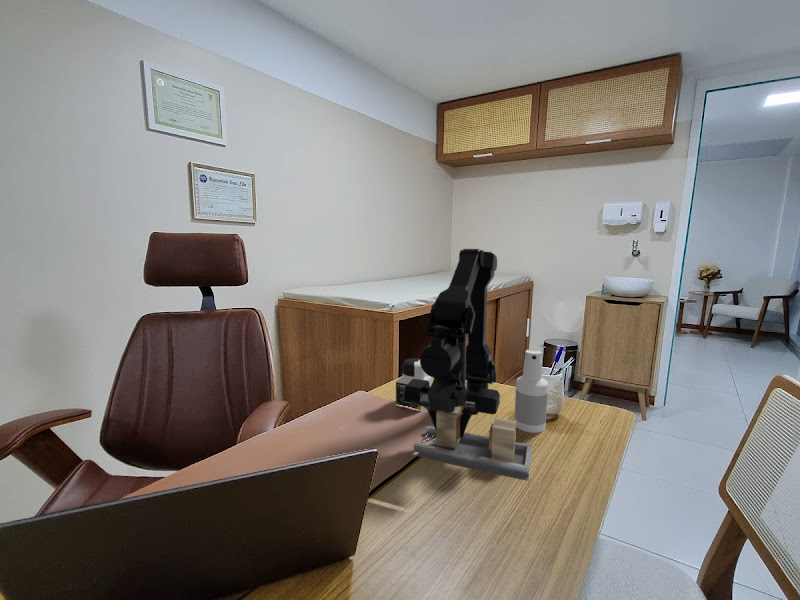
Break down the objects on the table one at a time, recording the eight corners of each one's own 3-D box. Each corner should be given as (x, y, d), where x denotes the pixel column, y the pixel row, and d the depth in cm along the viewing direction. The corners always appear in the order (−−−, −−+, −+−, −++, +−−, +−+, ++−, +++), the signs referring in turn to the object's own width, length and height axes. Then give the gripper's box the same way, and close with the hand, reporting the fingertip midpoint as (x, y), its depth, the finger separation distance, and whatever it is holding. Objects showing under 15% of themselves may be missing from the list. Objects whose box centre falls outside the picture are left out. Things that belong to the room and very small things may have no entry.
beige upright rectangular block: (491, 450, 77) (492, 417, 76) (514, 454, 75) (516, 421, 74) (488, 460, 73) (489, 426, 72) (512, 465, 72) (514, 430, 71)
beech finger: (436, 444, 77) (436, 412, 76) (441, 435, 81) (442, 404, 80) (458, 449, 75) (459, 415, 74) (463, 439, 79) (463, 407, 78)
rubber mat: (428, 431, 86) (428, 429, 86) (531, 451, 77) (531, 449, 77) (411, 457, 76) (411, 454, 75) (528, 482, 67) (528, 480, 67)
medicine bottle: (395, 406, 99) (395, 362, 97) (407, 397, 105) (407, 354, 103) (420, 412, 95) (420, 366, 93) (431, 402, 101) (432, 358, 100)
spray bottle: (515, 432, 85) (518, 355, 82) (513, 419, 92) (516, 346, 89) (547, 436, 83) (552, 357, 81) (543, 422, 90) (547, 348, 87)
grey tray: (426, 432, 84) (426, 425, 84) (531, 451, 76) (531, 445, 76) (413, 451, 77) (413, 444, 76) (528, 476, 68) (529, 468, 68)
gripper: (391, 368, 71) (392, 445, 74) (493, 381, 65) (490, 466, 67) (412, 352, 82) (412, 420, 84) (501, 362, 75) (498, 436, 77)
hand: (449, 434), depth 78 cm, fingers closed on beech finger, 4 cm apart
